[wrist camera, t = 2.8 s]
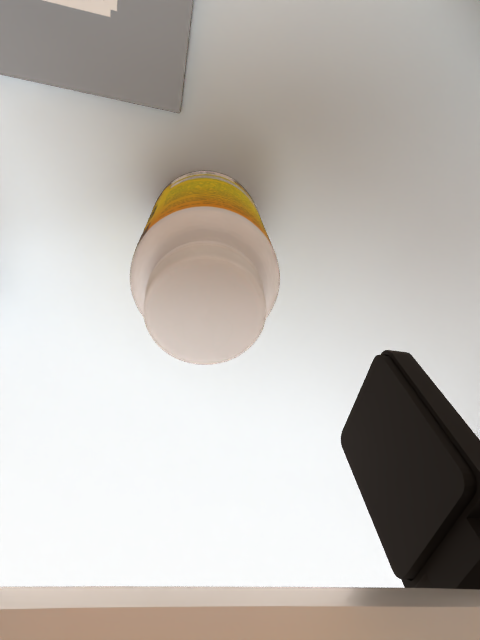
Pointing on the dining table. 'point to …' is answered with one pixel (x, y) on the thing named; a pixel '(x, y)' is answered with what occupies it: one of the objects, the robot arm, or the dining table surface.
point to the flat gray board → (100, 47)
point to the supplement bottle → (204, 270)
